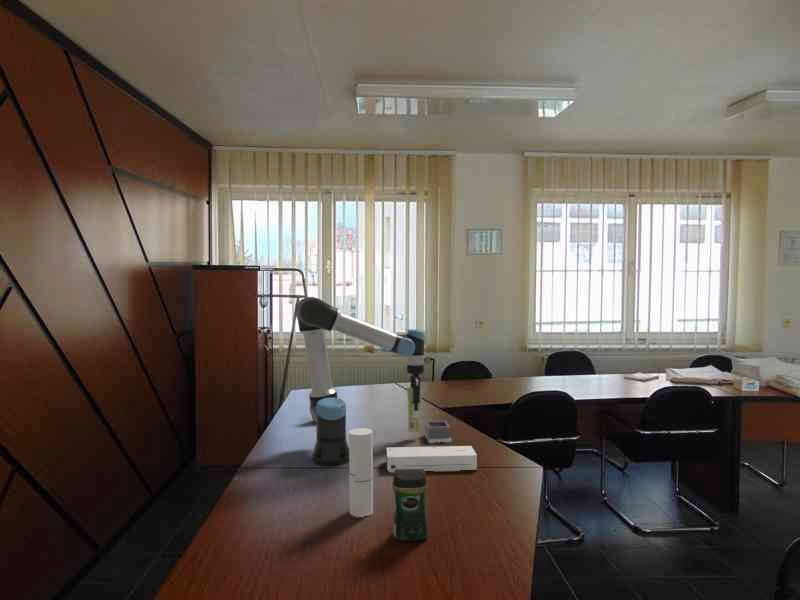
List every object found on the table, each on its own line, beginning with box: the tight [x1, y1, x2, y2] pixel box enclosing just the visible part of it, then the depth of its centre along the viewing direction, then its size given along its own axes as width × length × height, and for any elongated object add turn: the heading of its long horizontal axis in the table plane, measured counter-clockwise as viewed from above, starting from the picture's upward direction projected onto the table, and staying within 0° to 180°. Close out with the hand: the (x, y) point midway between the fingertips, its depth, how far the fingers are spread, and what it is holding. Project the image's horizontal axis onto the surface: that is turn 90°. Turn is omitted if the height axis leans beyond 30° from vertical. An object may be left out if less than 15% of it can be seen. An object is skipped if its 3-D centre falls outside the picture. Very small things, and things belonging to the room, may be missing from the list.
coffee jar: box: [392, 469, 429, 542], centre depth 141 cm, size 10×8×19 cm
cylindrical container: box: [348, 427, 374, 518], centre depth 155 cm, size 7×7×25 cm
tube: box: [406, 387, 424, 433], centre depth 227 cm, size 6×5×20 cm
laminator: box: [385, 445, 479, 473], centre depth 193 cm, size 34×12×6 cm, turn 93°
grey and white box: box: [424, 420, 452, 444], centre depth 228 cm, size 12×10×6 cm
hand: (414, 416), depth 226 cm, fingers closed on tube, 4 cm apart
